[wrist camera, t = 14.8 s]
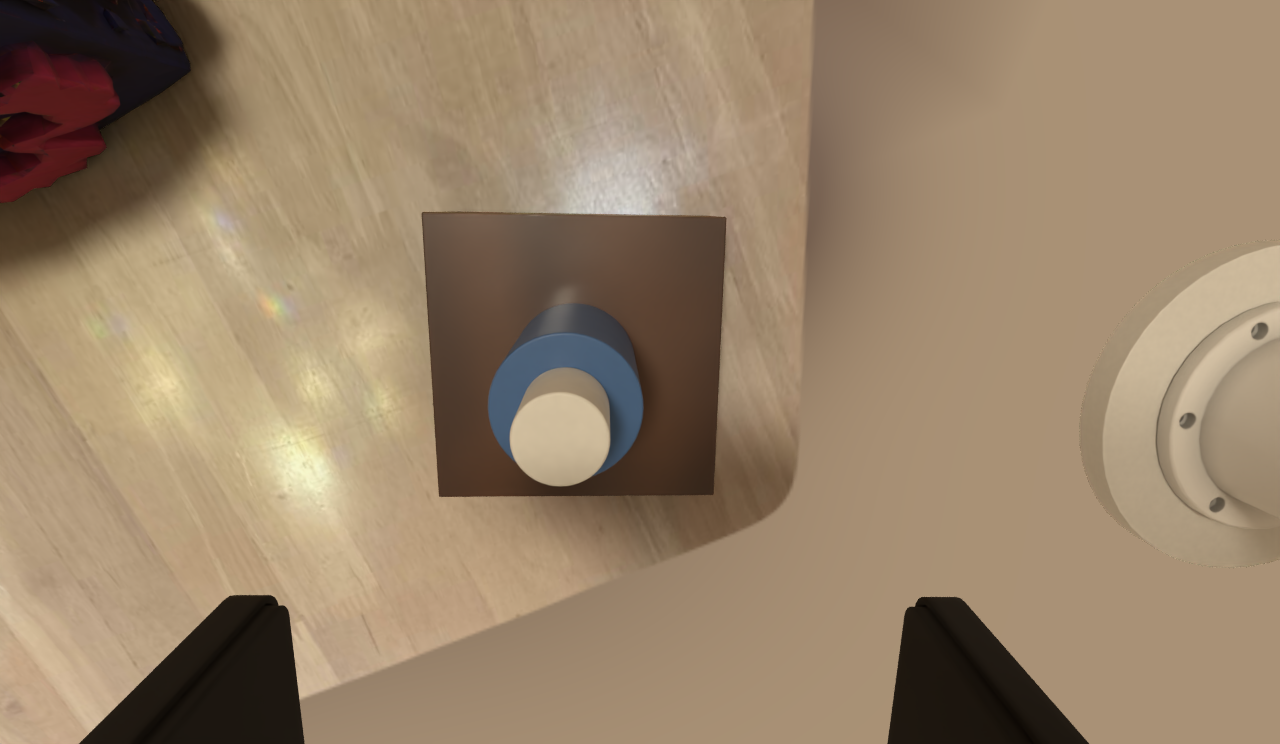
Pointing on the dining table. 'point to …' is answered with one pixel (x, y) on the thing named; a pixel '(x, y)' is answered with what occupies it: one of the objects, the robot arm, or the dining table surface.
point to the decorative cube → (75, 81)
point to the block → (583, 274)
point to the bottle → (567, 396)
